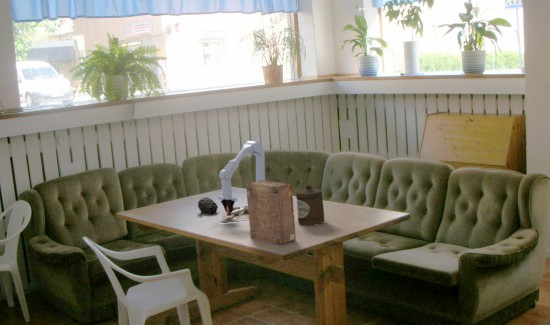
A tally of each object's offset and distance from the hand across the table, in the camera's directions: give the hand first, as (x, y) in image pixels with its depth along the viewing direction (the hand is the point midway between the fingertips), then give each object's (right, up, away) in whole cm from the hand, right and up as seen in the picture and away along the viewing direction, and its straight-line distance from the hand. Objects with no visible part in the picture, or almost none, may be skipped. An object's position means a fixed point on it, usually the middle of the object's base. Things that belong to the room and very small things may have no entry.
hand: (228, 211), depth 432 cm
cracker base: (+6, -3, +5) cm, 8 cm away
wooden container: (+48, -5, -25) cm, 54 cm away
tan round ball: (+3, -2, +10) cm, 10 cm away
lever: (+5, -1, +6) cm, 8 cm away
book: (+26, -11, -54) cm, 61 cm away
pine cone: (-13, -3, +20) cm, 25 cm away
